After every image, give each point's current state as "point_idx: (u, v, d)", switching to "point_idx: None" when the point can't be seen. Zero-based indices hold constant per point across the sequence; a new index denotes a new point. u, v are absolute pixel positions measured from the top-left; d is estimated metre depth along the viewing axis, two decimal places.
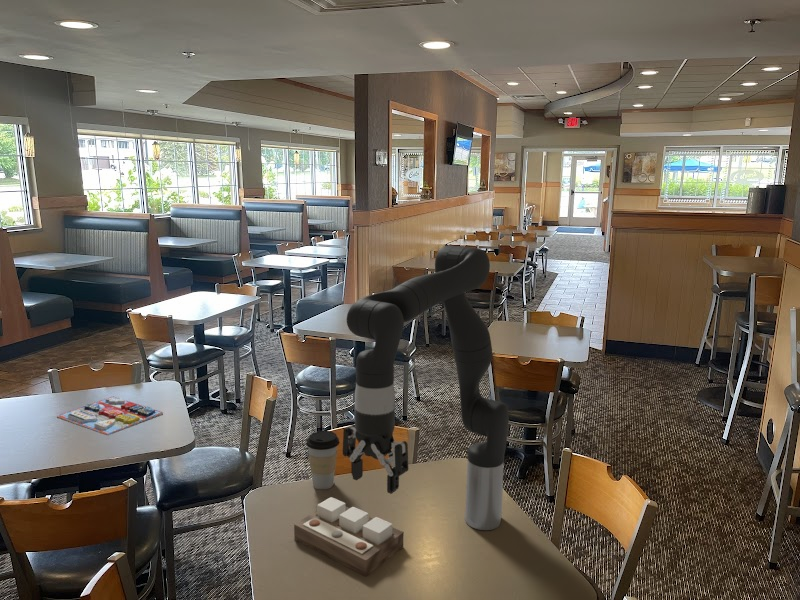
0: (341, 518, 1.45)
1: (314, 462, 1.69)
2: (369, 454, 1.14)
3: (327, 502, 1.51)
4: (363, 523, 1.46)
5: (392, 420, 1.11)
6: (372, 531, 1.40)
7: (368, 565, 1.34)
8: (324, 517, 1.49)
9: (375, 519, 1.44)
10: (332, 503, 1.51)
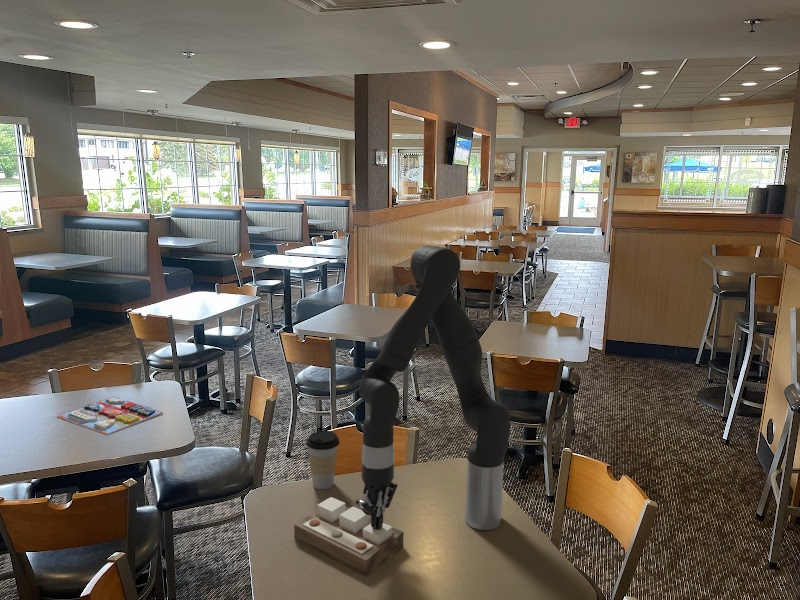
0: (341, 518, 1.45)
1: (314, 462, 1.69)
2: None
3: (327, 502, 1.51)
4: (363, 523, 1.46)
5: None
6: (372, 534, 1.40)
7: (368, 565, 1.34)
8: (324, 517, 1.49)
9: None
10: (332, 503, 1.51)
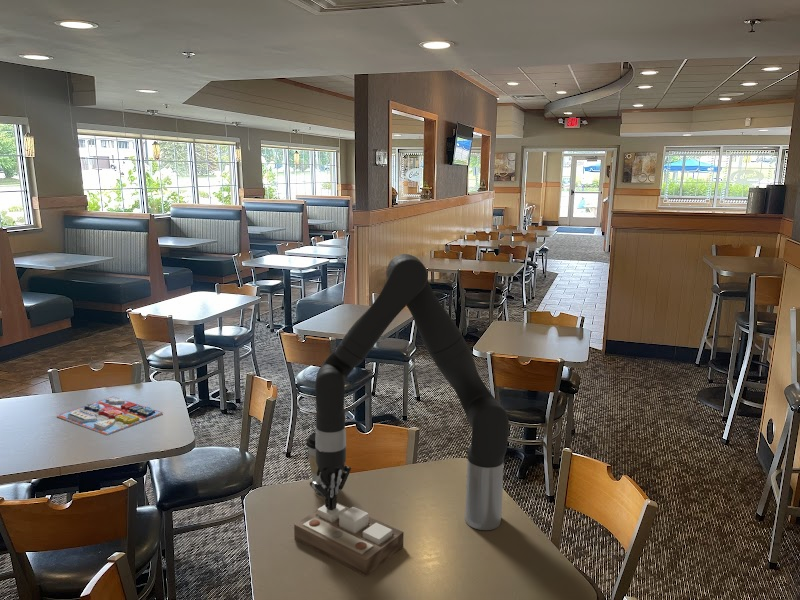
0: (341, 518, 1.45)
1: (314, 462, 1.69)
2: None
3: None
4: (363, 523, 1.46)
5: None
6: (372, 537, 1.40)
7: (368, 565, 1.34)
8: None
9: (375, 525, 1.44)
10: None
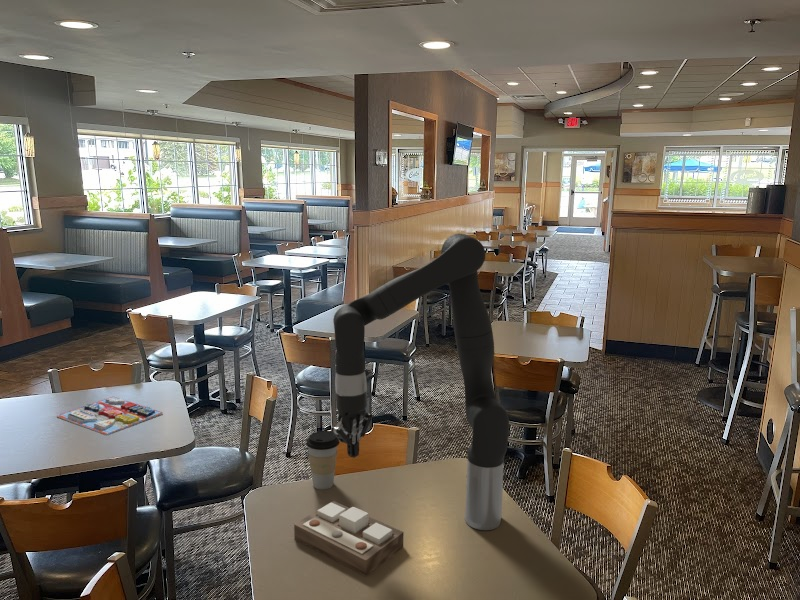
0: (341, 518, 1.45)
1: (314, 462, 1.69)
2: None
3: (328, 508, 1.51)
4: (363, 523, 1.46)
5: None
6: (372, 537, 1.40)
7: (368, 565, 1.34)
8: None
9: (375, 525, 1.44)
10: (332, 509, 1.51)
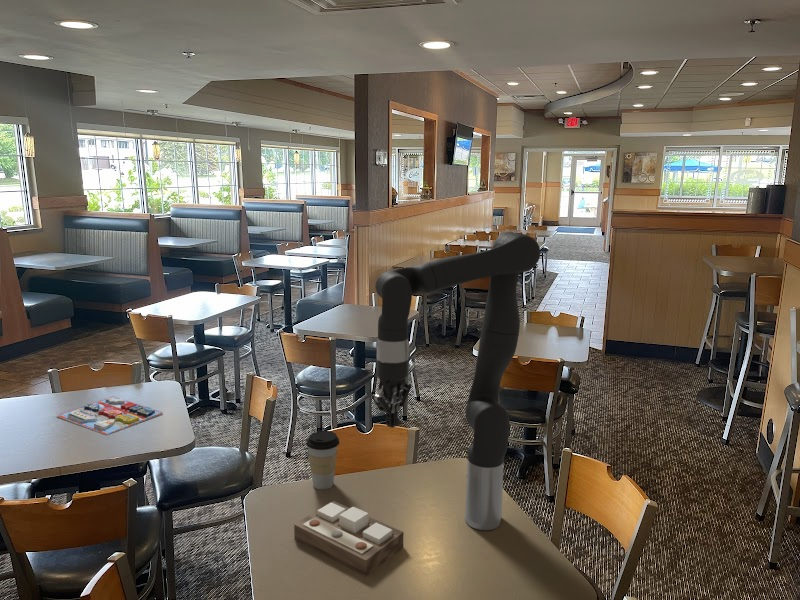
0: (341, 518, 1.45)
1: (314, 462, 1.69)
2: None
3: (328, 508, 1.51)
4: (363, 523, 1.46)
5: None
6: (372, 537, 1.40)
7: (368, 565, 1.34)
8: None
9: (375, 525, 1.44)
10: (332, 509, 1.51)
